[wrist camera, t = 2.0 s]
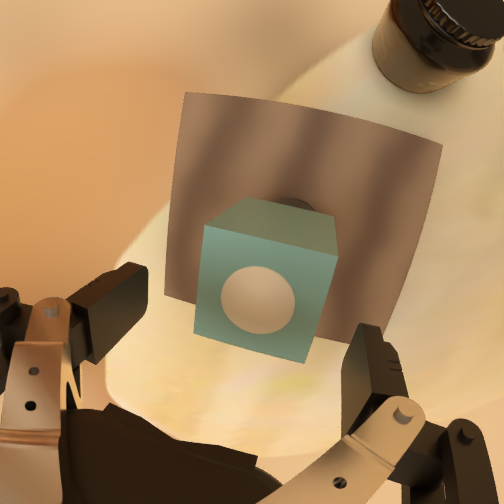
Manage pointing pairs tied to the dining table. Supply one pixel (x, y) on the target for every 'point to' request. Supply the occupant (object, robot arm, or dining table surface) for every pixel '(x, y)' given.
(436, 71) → the supplement bottle
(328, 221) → the green cube with circle
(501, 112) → the dining table surface
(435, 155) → the brown wooden board
